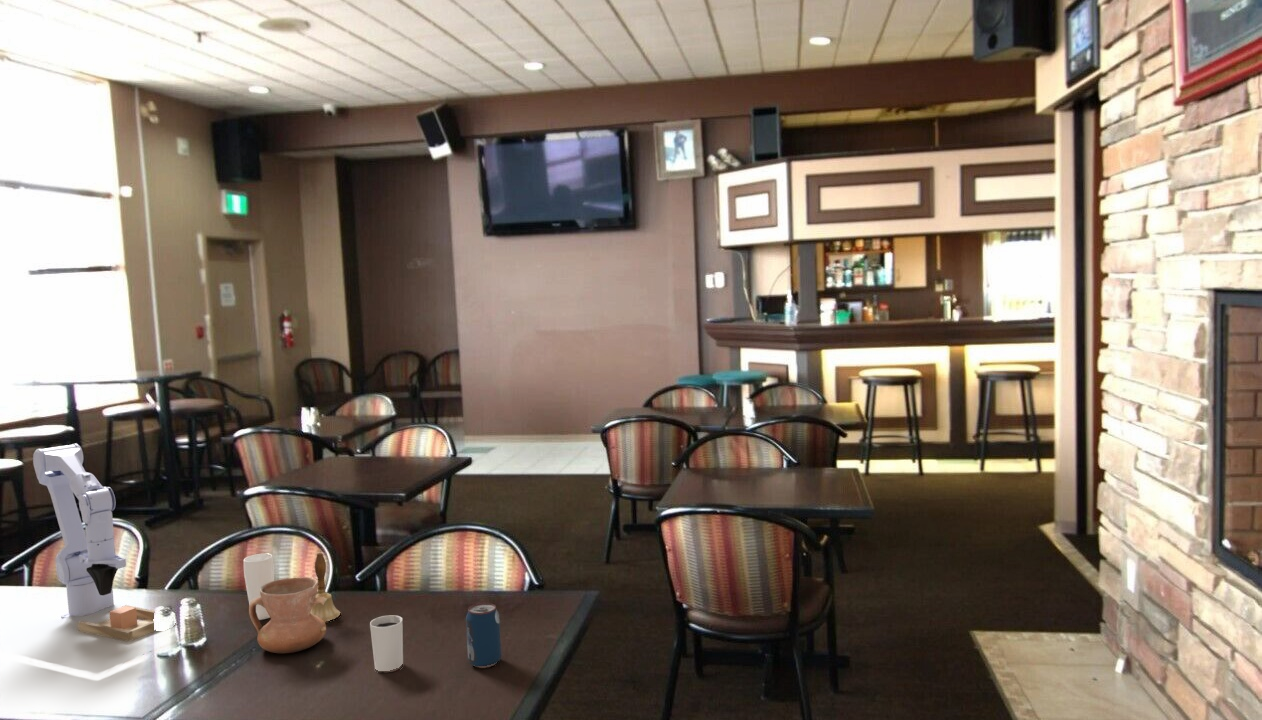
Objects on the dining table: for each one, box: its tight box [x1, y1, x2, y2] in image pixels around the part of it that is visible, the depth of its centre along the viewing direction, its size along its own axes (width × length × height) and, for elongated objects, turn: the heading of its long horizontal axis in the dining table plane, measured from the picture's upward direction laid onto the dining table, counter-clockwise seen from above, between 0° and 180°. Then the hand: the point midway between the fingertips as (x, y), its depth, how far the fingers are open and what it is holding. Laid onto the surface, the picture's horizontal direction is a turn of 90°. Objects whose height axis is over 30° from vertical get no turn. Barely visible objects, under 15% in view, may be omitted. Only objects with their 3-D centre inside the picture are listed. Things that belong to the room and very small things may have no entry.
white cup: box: [369, 614, 404, 671], centre depth 185 cm, size 7×7×10 cm
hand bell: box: [310, 552, 341, 623], centre depth 215 cm, size 8×8×16 cm
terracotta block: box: [109, 605, 138, 629], centre depth 211 cm, size 4×4×4 cm
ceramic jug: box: [248, 576, 327, 654], centre depth 198 cm, size 18×14×14 cm
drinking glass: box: [243, 553, 275, 621], centre depth 217 cm, size 7×7×15 cm
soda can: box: [465, 602, 502, 666], centre depth 185 cm, size 7×7×12 cm
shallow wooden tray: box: [77, 604, 156, 642], centre depth 211 cm, size 12×18×3 cm, turn 65°
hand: (105, 593), depth 213 cm, fingers closed
